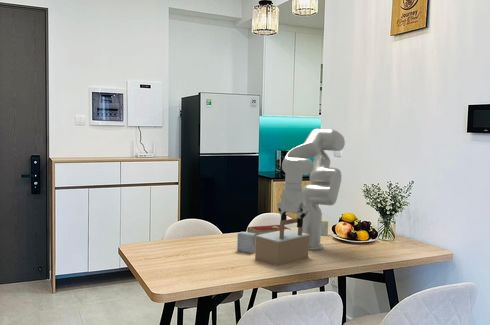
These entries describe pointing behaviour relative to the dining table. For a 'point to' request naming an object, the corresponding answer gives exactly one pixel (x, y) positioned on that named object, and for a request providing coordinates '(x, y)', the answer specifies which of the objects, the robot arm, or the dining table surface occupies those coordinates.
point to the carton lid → (284, 232)
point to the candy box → (324, 228)
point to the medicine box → (246, 242)
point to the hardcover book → (264, 229)
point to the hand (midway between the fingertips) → (291, 225)
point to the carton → (281, 250)
